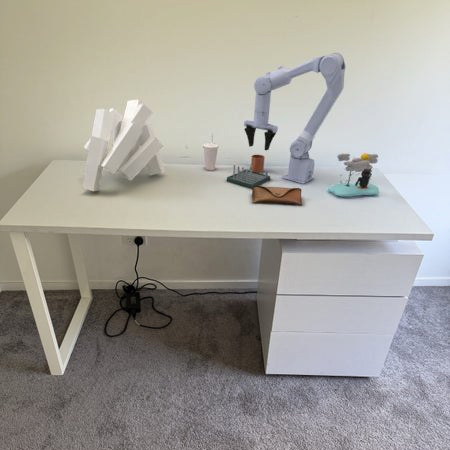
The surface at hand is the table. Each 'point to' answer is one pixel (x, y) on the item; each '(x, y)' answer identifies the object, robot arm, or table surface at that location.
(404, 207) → the table surface
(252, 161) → the cup
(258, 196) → the sunglasses case
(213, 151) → the smoothie
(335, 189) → the penguin figurine
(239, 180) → the rack
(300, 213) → the table surface
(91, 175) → the pile of blocks
